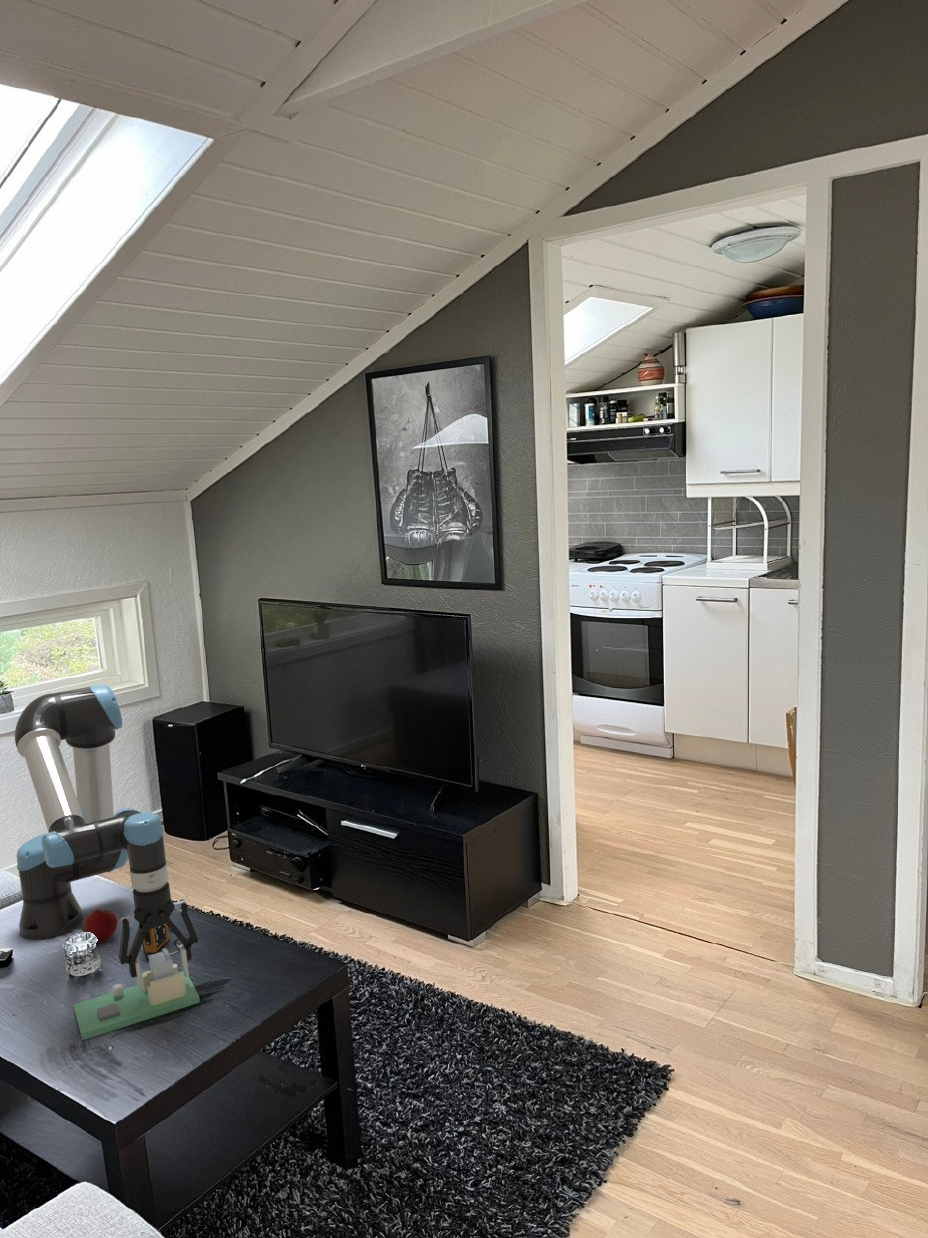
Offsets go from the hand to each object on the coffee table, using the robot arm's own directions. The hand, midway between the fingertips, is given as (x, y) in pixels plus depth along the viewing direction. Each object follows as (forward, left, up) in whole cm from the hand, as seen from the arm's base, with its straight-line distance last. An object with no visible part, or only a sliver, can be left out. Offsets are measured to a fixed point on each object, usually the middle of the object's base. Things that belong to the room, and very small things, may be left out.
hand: (163, 981), depth 209 cm
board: (0, -6, -4) cm, 7 cm away
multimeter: (-23, +6, -4) cm, 24 cm away
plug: (0, 0, -2) cm, 2 cm away
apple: (-37, -8, -4) cm, 38 cm away
